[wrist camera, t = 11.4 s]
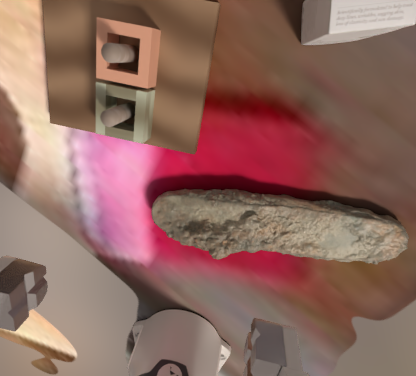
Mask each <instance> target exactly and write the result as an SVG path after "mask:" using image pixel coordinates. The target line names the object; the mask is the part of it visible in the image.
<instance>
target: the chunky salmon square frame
mask: <svg viewBox="0 0 416 376" xmlns="http://www.w3.org/2000/svg"><path fill="white" fill-rule="evenodd" d="M119 35H124V36H129V37H134V38H139V39H140V50H139V65H138V72H136V71H131V70H126V69H121V68H118V63H109V62H107V61H105V60H104V59H103V57H102V54H101V48H102V46H103V45H104V44H105V43H117V44H119ZM160 36H161V30H158V29H154V28H150V27H145V26H140V25H135V24H130V23H124V22H119V21H114V20H109V19H104V18H99V17H97V35H96V78H99V79H103V80H108V81H113V82H118V83H123V84H128V85H132V86H137V87H142V88H147V89H148V88H151V87H155V86H156V79H157V68H158V57H159V47H160Z"/></svg>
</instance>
